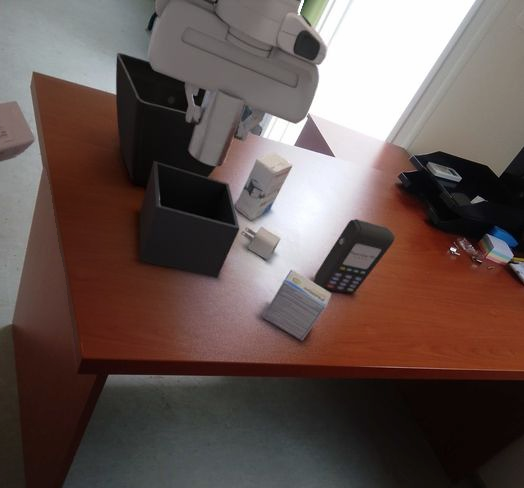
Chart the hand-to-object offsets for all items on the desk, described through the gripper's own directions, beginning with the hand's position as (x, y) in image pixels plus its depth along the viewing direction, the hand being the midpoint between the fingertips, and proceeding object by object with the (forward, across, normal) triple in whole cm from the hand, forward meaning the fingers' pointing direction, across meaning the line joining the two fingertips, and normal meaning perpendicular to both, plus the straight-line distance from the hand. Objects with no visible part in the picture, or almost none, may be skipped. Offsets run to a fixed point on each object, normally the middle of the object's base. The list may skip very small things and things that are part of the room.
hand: (215, 130), depth 60 cm
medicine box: (+24, +20, -9) cm, 32 cm away
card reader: (+24, +34, +4) cm, 42 cm away
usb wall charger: (+24, +18, +11) cm, 32 cm away
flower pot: (+24, -1, +29) cm, 38 cm away
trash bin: (+24, +2, +6) cm, 25 cm away
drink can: (+4, 0, 0) cm, 4 cm away
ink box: (+24, +20, +25) cm, 40 cm away
